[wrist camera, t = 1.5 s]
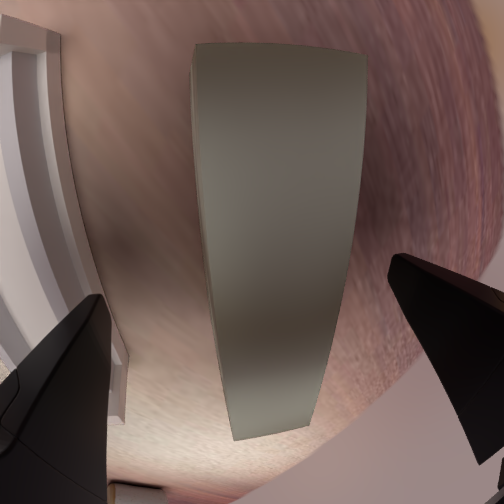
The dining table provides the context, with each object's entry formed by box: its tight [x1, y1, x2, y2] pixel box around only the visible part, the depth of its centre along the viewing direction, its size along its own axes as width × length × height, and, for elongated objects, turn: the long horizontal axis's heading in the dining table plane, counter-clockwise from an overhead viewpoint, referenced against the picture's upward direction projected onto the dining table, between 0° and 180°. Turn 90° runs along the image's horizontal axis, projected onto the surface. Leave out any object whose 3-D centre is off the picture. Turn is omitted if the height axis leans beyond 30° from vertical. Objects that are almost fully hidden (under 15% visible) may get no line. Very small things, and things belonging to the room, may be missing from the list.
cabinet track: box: [0, 14, 129, 425], centre depth 10 cm, size 18×7×5 cm, turn 1°
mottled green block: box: [189, 43, 368, 441], centre depth 10 cm, size 12×3×8 cm, turn 1°
